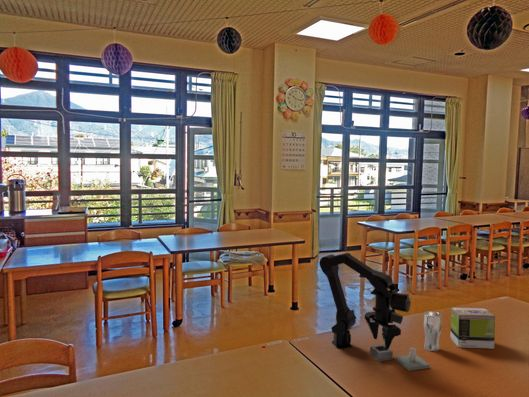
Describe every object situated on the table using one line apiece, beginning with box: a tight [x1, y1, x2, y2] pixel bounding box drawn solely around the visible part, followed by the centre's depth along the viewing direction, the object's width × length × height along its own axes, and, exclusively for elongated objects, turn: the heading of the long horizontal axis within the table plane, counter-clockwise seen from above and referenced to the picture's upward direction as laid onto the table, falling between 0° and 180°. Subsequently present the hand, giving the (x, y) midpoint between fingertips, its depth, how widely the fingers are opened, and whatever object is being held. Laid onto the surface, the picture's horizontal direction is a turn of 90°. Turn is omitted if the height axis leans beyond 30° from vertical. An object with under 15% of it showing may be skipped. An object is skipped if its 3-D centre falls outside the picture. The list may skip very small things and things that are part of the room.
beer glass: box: [423, 310, 443, 352], centre depth 175 cm, size 7×7×15 cm
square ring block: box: [369, 344, 394, 362], centre depth 167 cm, size 6×6×4 cm
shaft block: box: [395, 347, 430, 371], centre depth 161 cm, size 9×9×6 cm
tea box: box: [450, 306, 496, 350], centre depth 179 cm, size 15×10×15 cm, turn 84°
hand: (381, 343), depth 167 cm, fingers open, 9 cm apart
